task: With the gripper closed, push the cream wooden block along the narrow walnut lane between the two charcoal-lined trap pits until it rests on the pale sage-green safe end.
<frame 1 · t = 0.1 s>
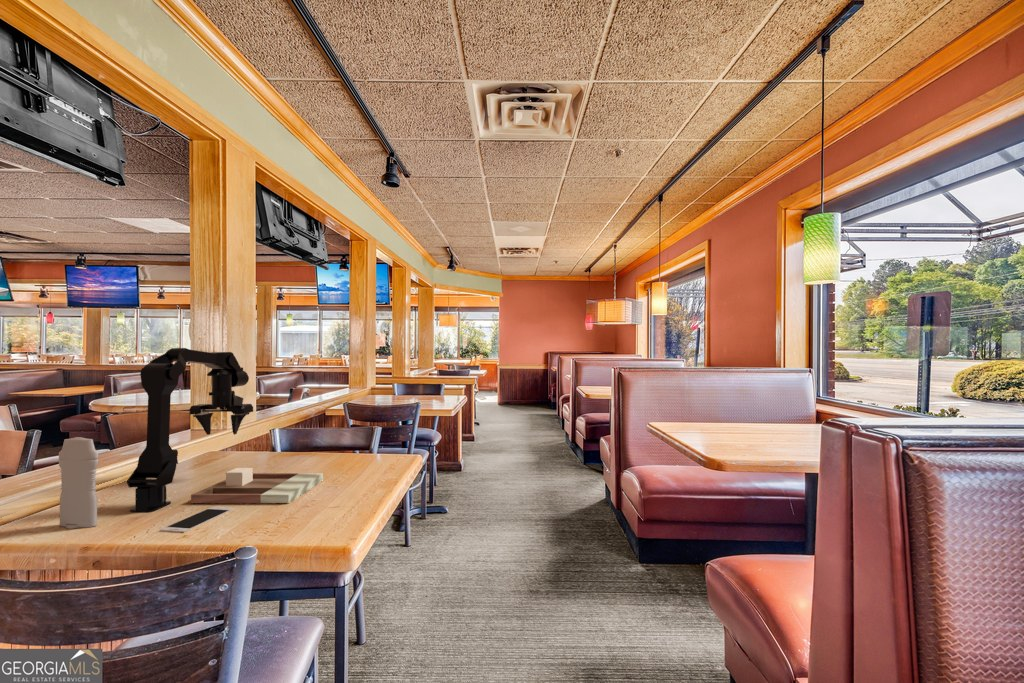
hand: (221, 434, 149), 15 cm above the table, tool pointing down, fingers open, 9 cm apart
block: (239, 483, 133), point 2 cm above the table, touching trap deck
tall pale column: (78, 526, 109), on the table
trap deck: (262, 491, 133), on the table
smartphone: (200, 521, 112), on the table
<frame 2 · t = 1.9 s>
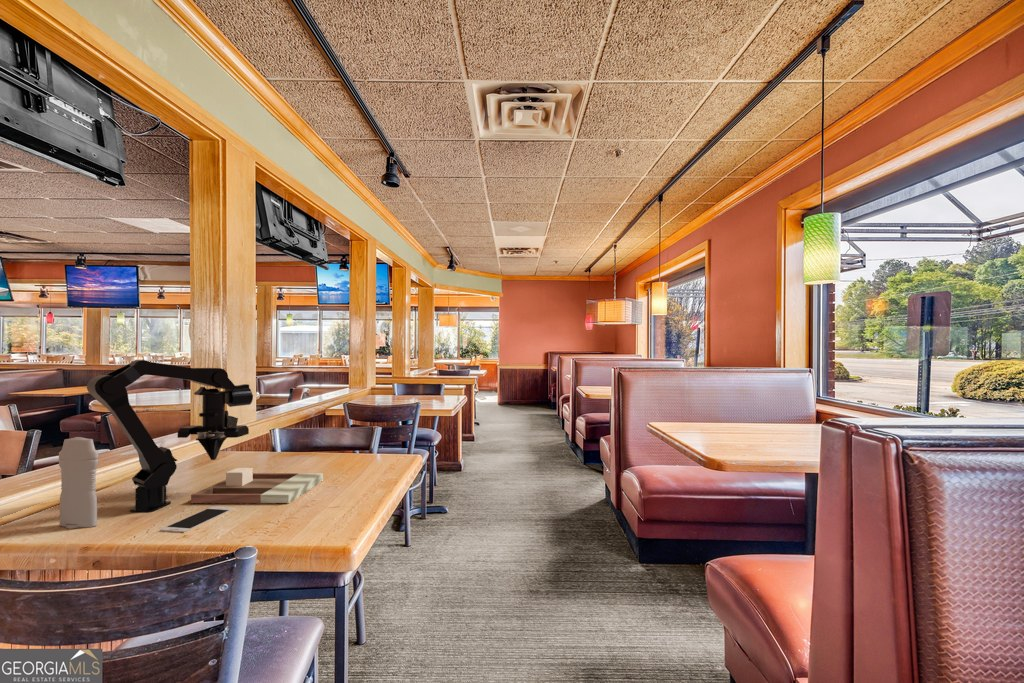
hand: (213, 459, 134), 10 cm above the table, tool pointing down, fingers closed
nothing on the table moved.
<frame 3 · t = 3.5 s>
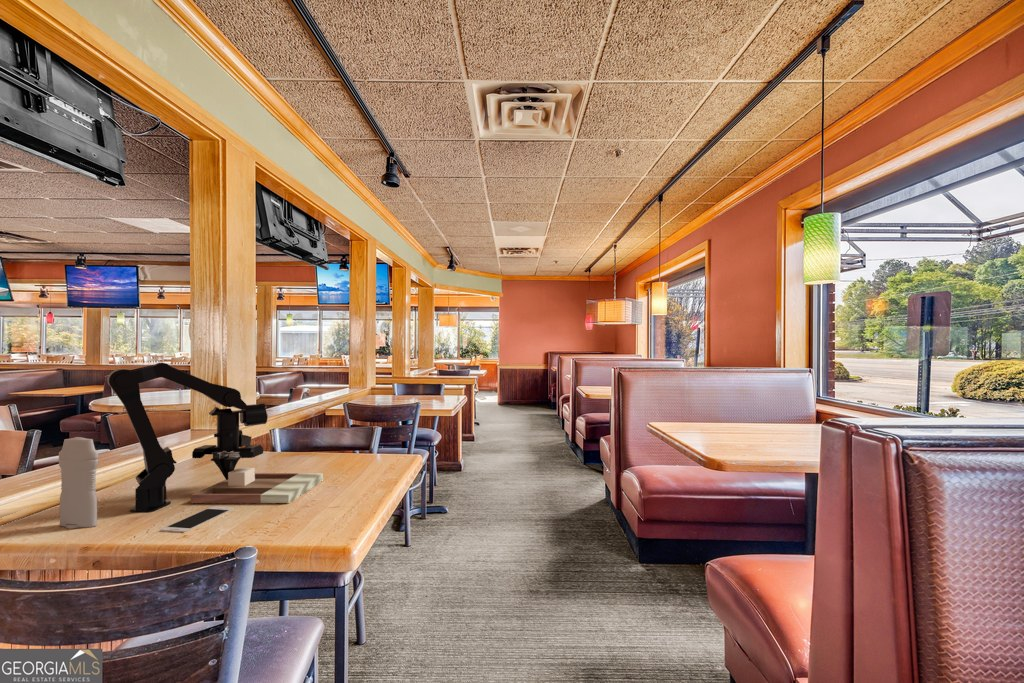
hand: (228, 479, 134), 4 cm above the table, tool pointing down, fingers closed
block: (241, 483, 133), point 3 cm above the table, touching gripper
everything else where it was.
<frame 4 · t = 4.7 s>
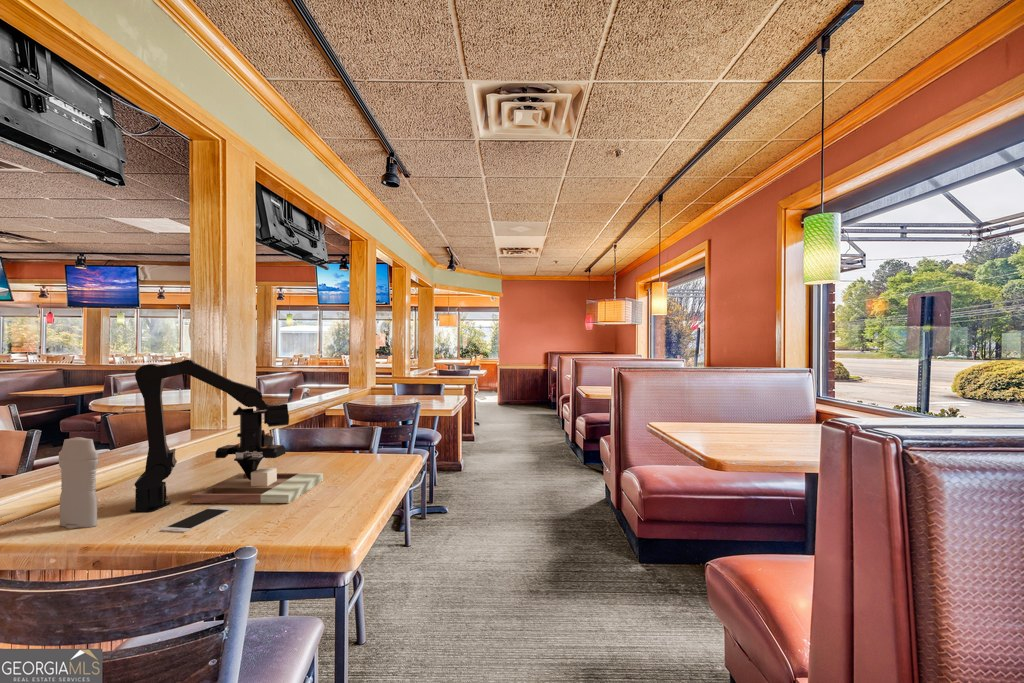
hand: (250, 479, 133), 4 cm above the table, tool pointing down, fingers closed
block: (264, 483, 133), point 3 cm above the table, touching gripper
everything else where it was.
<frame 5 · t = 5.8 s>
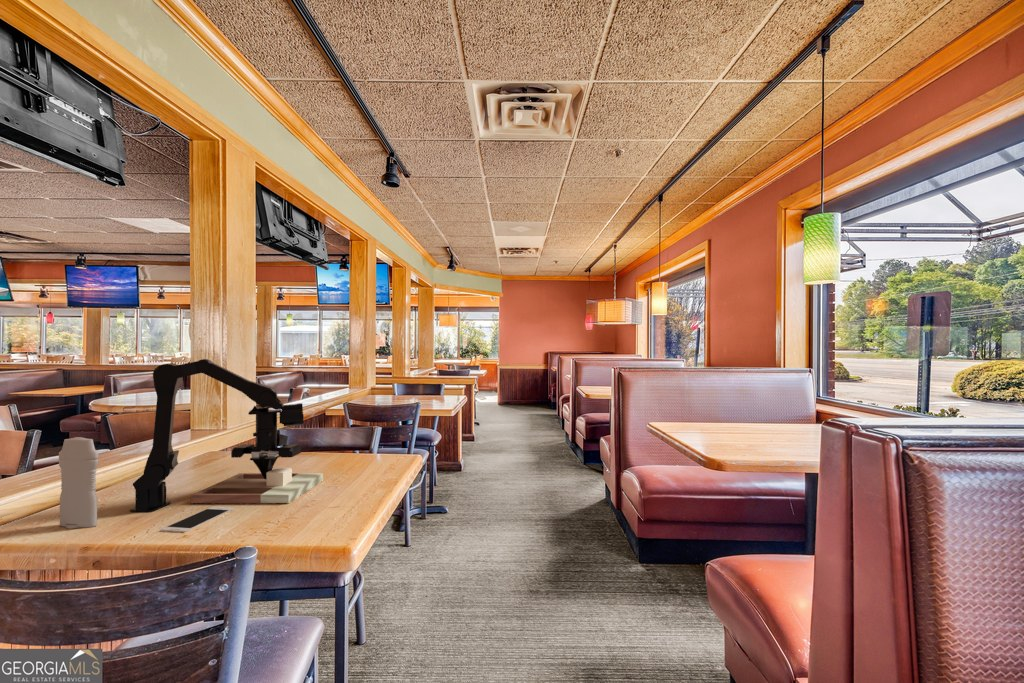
hand: (266, 478, 133), 4 cm above the table, tool pointing down, fingers closed
block: (279, 483, 133), point 3 cm above the table, touching gripper, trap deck
everything else where it was.
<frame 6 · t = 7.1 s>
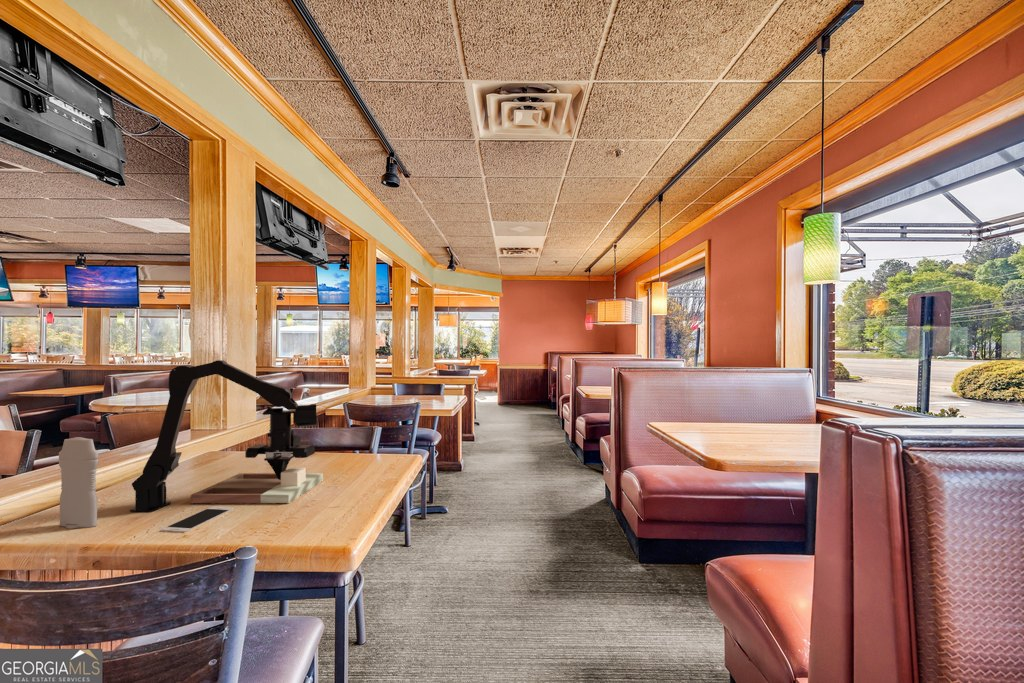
hand: (280, 479, 133), 4 cm above the table, tool pointing down, fingers closed
block: (293, 483, 133), point 2 cm above the table, touching gripper, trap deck
everything else where it was.
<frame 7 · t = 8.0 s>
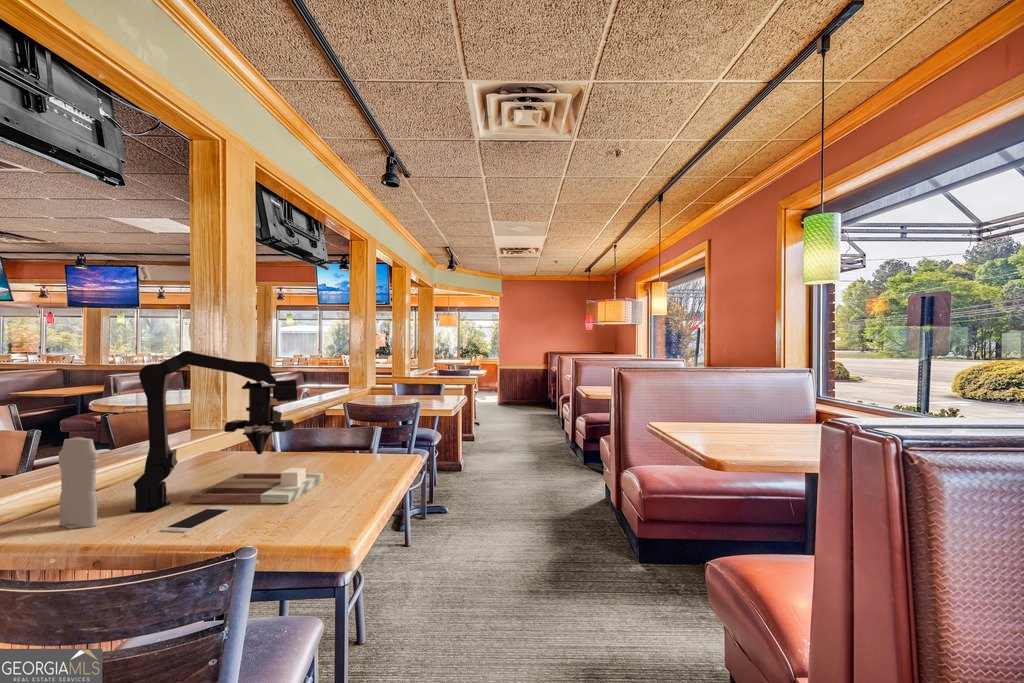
hand: (259, 454, 133), 11 cm above the table, tool pointing down, fingers closed
block: (293, 483, 133), point 2 cm above the table, touching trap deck
everything else where it was.
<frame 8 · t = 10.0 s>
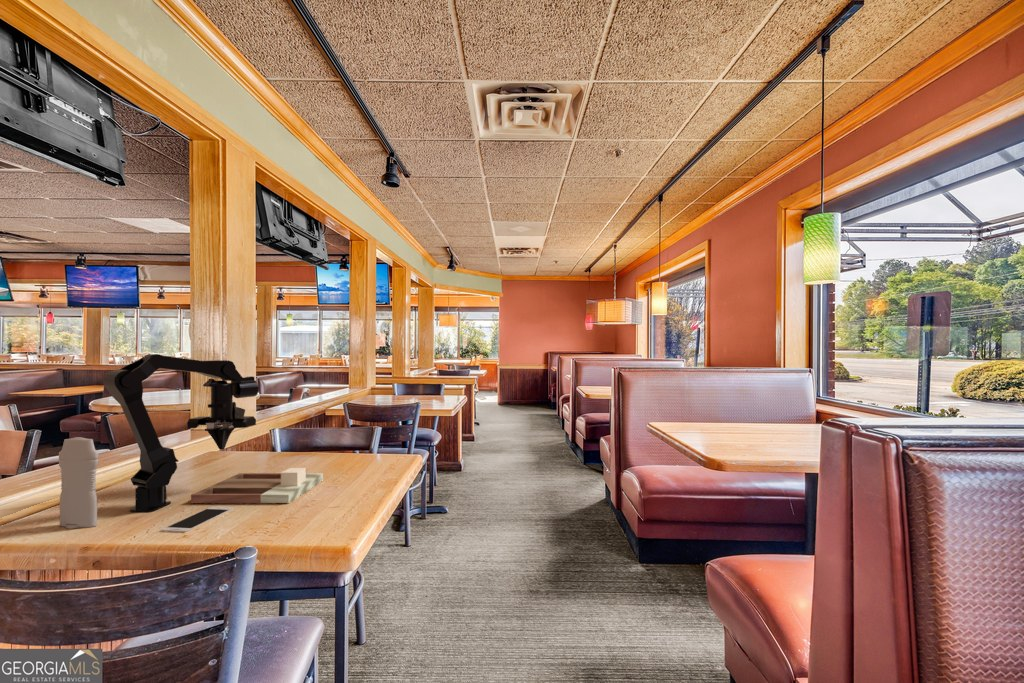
hand: (222, 449, 137), 12 cm above the table, tool pointing down, fingers closed
nothing on the table moved.
at the end: block inside the target area on the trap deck (0.3 cm from its centre), point 2.5 cm above the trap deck's base; block tilted 0°; block moved 16.9 cm from its start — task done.
